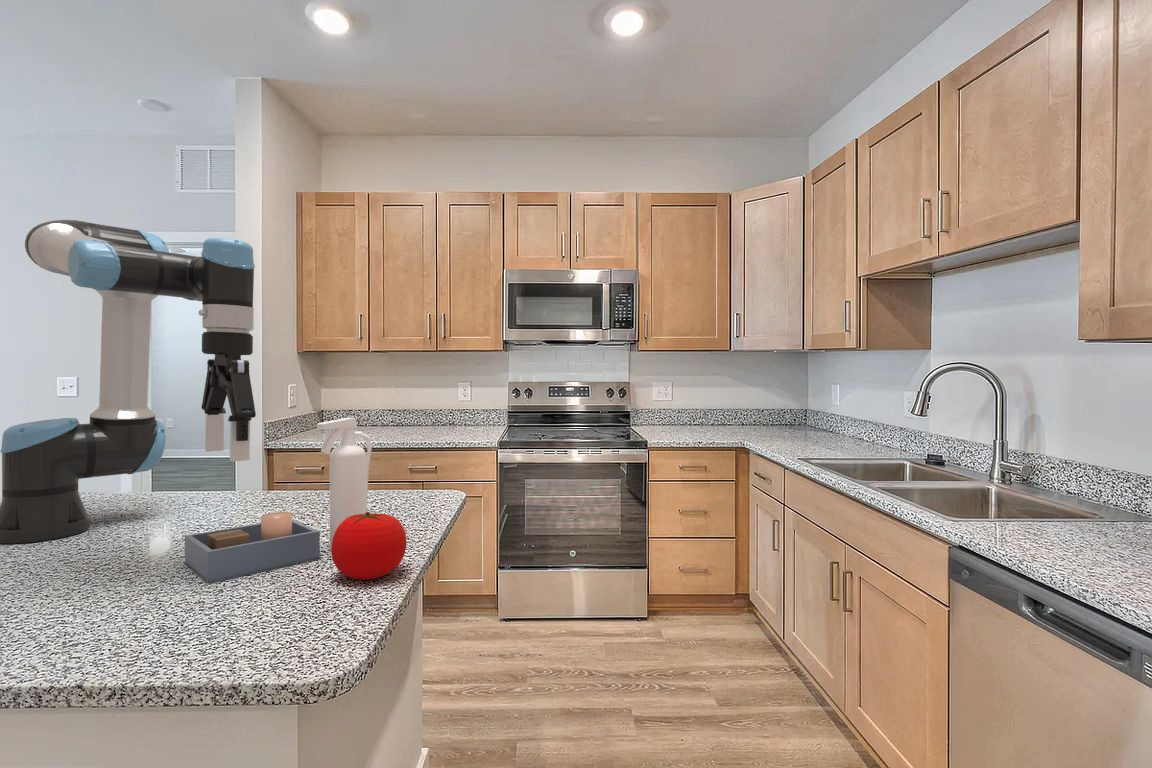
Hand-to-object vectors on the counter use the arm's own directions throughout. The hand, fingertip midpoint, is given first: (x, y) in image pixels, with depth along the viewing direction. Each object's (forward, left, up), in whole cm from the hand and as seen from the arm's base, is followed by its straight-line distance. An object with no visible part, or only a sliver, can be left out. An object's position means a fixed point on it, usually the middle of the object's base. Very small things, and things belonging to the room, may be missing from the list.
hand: (226, 455), depth 102 cm
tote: (0, +4, -19) cm, 19 cm away
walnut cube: (+1, 0, -19) cm, 18 cm away
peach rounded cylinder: (0, +8, -19) cm, 20 cm away
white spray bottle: (+4, +20, -19) cm, 28 cm away
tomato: (+21, +15, -19) cm, 33 cm away
